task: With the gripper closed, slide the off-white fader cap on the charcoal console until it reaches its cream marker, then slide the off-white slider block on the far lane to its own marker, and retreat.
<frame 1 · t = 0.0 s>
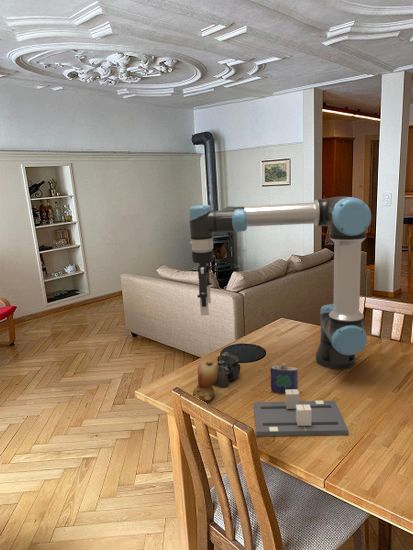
hand: (206, 308, 147), 28 cm above the table, fingers open, 13 cm apart
figurine: (206, 398, 141), on the table
flask: (284, 392, 142), on the table
off-white slider block: (292, 398, 129), point 4 cm above the table, slide at 0.0 cm
fader white: (303, 414, 120), point 4 cm above the table, slide at 0.0 cm
camera: (227, 379, 154), on the table
console: (297, 419, 126), on the table
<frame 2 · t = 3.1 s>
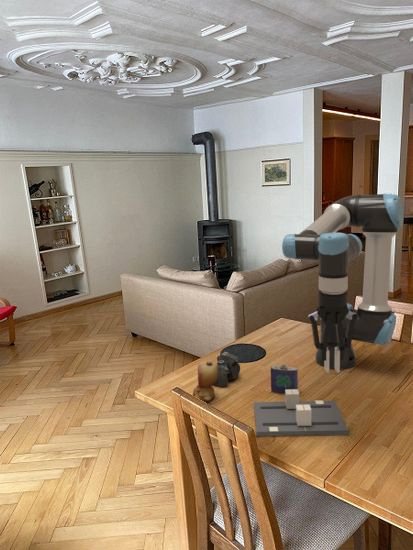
hand: (331, 370, 116), 18 cm above the table, fingers open, 2 cm apart
nothing on the table moved.
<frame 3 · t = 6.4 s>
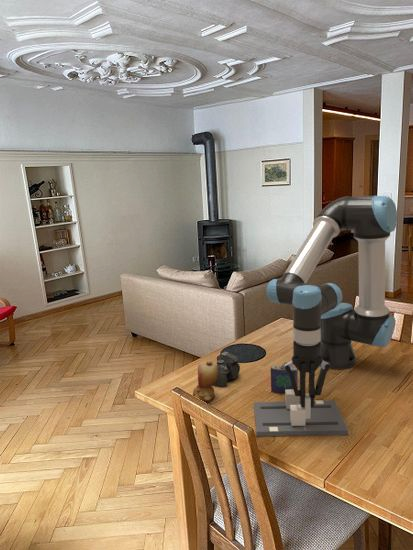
hand: (307, 416, 120), 4 cm above the table, fingers closed
fader white: (297, 415, 120), point 4 cm above the table, slide at 1.7 cm, touching gripper
everything else where it was.
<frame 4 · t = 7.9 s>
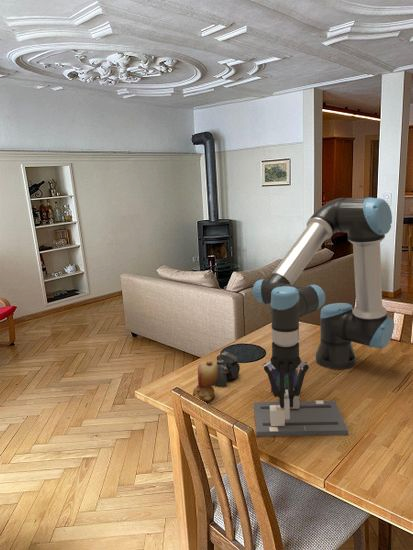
hand: (286, 416, 121), 4 cm above the table, fingers closed
fader white: (277, 415, 121), point 4 cm above the table, slide at 7.7 cm, touching gripper
everything else where it was.
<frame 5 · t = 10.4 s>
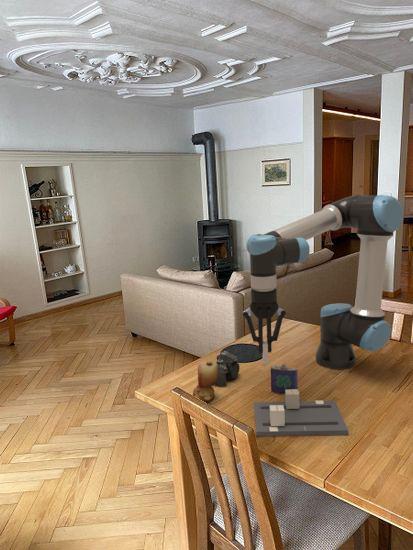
hand: (265, 361, 127), 17 cm above the table, fingers closed
fader white: (277, 415, 121), point 4 cm above the table, slide at 7.7 cm
everything else where it was.
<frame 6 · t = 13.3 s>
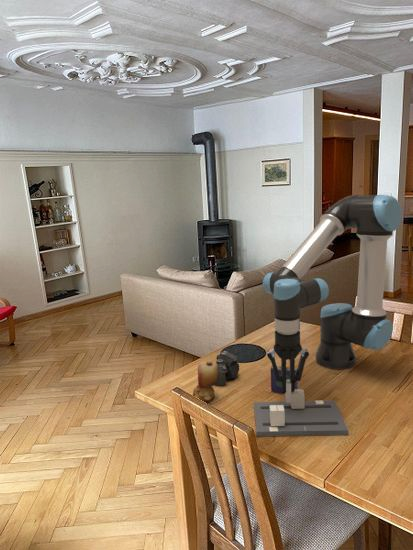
hand: (288, 400, 129), 4 cm above the table, fingers closed
off-white slider block: (297, 398, 129), point 4 cm above the table, slide at 1.6 cm, touching gripper
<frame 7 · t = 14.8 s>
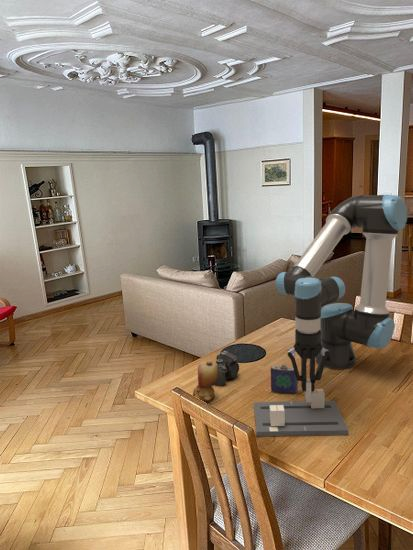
hand: (308, 399, 129), 4 cm above the table, fingers closed
off-white slider block: (316, 398, 129), point 4 cm above the table, slide at 7.7 cm, touching gripper
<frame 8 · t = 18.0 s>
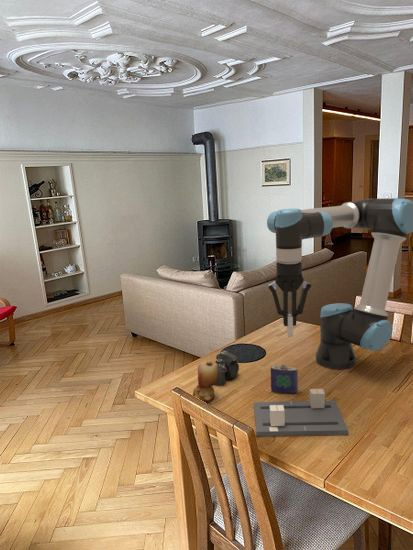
hand: (289, 335, 128), 24 cm above the table, fingers closed
off-white slider block: (317, 398, 129), point 4 cm above the table, slide at 7.7 cm
at the end: fader white slide at 7.7 cm; off-white slider block slide at 7.7 cm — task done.
